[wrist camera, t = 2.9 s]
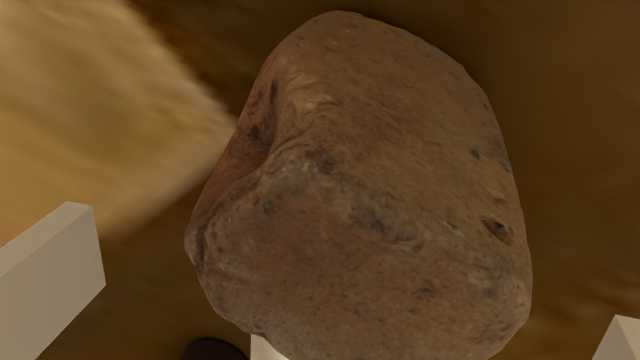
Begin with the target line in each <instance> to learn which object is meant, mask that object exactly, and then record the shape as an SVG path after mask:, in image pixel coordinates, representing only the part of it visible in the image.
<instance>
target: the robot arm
mask: <svg viewBox="0 0 640 360" xmlns="http://www.w3.org/2000/svg"><path fill="white" fill-rule="evenodd" d="M105 286H106V282H105V276H104V270H103V264H102V258H101V253H100V247H99V241H98V235H97V229H96V224H95V218H94V212H93V206H90V205H85V204H81V203H76V202H71V201H66V202H65V203H63V204H62V205H60V206H59V207H58V208H56V209H55V210H53V211H52V212H50V213H49V214H48V215H46V216H45V217H43V218H42V219H41V220H39V221H38V222H36V223H35V224H34V225H32V226H31V227H29V228H28V229H27V230H25V231H24V232H22V233H21V234H19V235H18V236H17V237H15V238H14V239H12V240H11V241H10V242H8V243H7V244H5V245H4V246H3V247H1V248H0V360H35V359H36V358H37V357H38V356H39V355H40V354H41V353H42V352H43V350H44V349H45V348H46V347H47V346H48V345H49V344H50V343H51V342H52V341H53V340H54V339H55V338H56V337H57V336H58V335H59V334H60V333H61V332H62V331H63V330H64V329H65V327H66V326H67V325H68V324H69V323H70V322H71V321H72V320H73V319H74V318H75V317H76V316H77V315H78V314H79V313H80V312H81V311H82V310H83V309H84V308H85V307H86V305H87V304H88V303H89V302H90V301H91V300H92V299H93V298H94V297H95V296H96V295H97V294H98V293H99V292H100V291H101V290H102V289H103V288H104V287H105ZM592 360H640V320H639V319H634V318H629V317H625V316H620V315H615V316H614V318H613V320H612V322H611V324H610V326H609V328H608V330H607V332H606V334H605V336H604V337H603V339H602V341H601V343H600V345H599V347H598V349H597V351H596V353H595V355H594V357H593V359H592Z"/></svg>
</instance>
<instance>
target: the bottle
mask: <svg viewBox="0 0 640 360" xmlns="http://www.w3.org/2000/svg"><path fill="white" fill-rule="evenodd" d="M180 360H246V359H245V358H244V357H243V356H242V354H241V353H240V352H239V351H237V350H236V349H235V348H233V347H232V346H230V345H228V344H226V343H224V342H221V341H216V340H199V341H196V342H193V343H192V344H191V345H190V346H188V347H187V348H186V349H185V351H184V353H183V355H182V356H181V358H180Z"/></svg>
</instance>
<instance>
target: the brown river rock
mask: <svg viewBox="0 0 640 360" xmlns="http://www.w3.org/2000/svg"><path fill="white" fill-rule="evenodd" d="M184 247H185V250H186V252H187V254H188V256H189V257H190V259H191V261H192V263H193V264H194V266H195V268H196V272H197V277H198V280H199V282H200V283H201V285H202V287H203V289H204V291H205V294H206V296H207V299H208V301H209V302H210V304H211V306H212V307H213V309H214V310H215V312H217V313H218V314H219V315H220V316H221V317H223V318H224V319H225V320H227V321H230V322H232V323H234V324H236V325H237V326H238V327H239V328H240V329H241V330H242V331H243V332H246V333H249V334H253V335H256V336H259V337H263V338H264V339H265V340H266V341H267V342H268V343H269V344H270V345H271V346H272V347H273V348H274V349H275V350H276V351H277V352H278V353H280V354H281V355H283V356H284V357H286V358H287V359H289V360H487V359H489V358H490V357H492V356H494V355H495V354H497V353H498V352H500V351H501V350H502V349H503V347H504V346H505V345H506V344H507V343H508V341H509V340H510V339H511V338H512V337H513V336H514V334H515V333H516V332H517V331H518V330H519V328H520V327H521V326H522V325H523V324H524V323H525V322H526V321H527V319H528V318H529V313H530V308H531V296H532V281H533V277H532V265H531V255H530V252H529V248H528V244H527V239H526V230H525V222H524V215H523V211H522V209H521V207H520V201H519V196H518V190H517V187H516V185H515V181H514V176H513V172H512V168H511V164H510V161H509V159H508V155H507V151H506V147H505V144H504V141H503V136H502V133H501V131H500V128H499V125H498V122H497V120H496V117H495V115H494V112H493V110H492V106H491V105H490V103H489V100H488V98H487V96H486V94H485V92H484V91H483V90H482V89H481V87H480V86H479V85H478V84H477V83H476V82H475V81H474V80H473V79H472V78H471V77H470V76H469V75H468V73H467V72H466V70H465V69H464V67H463V66H462V65H461V64H459V63H458V62H457V61H455V60H454V59H453V58H451V57H450V56H448V55H447V54H446V53H444V52H443V51H441V50H440V49H438V48H437V47H435V46H433V45H432V44H430V43H428V42H426V41H425V40H423V39H422V38H420V37H418V36H415V35H413V34H411V33H410V32H408V31H406V30H404V29H401V28H398V27H395V26H391V25H389V24H386V23H384V22H382V21H378V20H375V19H370V18H368V17H365V16H363V15H361V14H359V13H355V12H346V11H339V10H337V11H330V12H326V13H324V14H321V15H319V16H317V17H314V18H312V19H311V20H309V21H307V22H306V23H304V24H303V25H302V26H300V27H299V28H298V29H296V30H295V31H293V32H292V33H291V34H289V35H288V36H287V37H286V38H285V39H284V40H283V41H282V42H281V43H279V44H278V46H277V47H276V48H275V49H274V50H273V51H272V52H271V54H270V55H269V56H268V57H267V59H266V60H265V62H264V64H263V66H262V67H261V70H260V72H259V74H258V76H257V78H256V80H255V83H254V85H253V88H252V90H251V93H250V95H249V97H248V100H247V102H246V104H245V107H244V109H243V111H242V114H241V116H240V118H239V121H238V123H237V129H236V130H235V132H234V134H233V136H232V138H231V139H230V141H229V143H228V145H227V147H226V149H225V151H224V153H223V155H222V156H221V157H220V159H219V160H218V162H217V164H216V167H215V169H214V171H213V174H212V176H211V178H210V179H208V181H207V183H206V185H205V187H204V188H203V190H202V192H201V195H200V197H199V199H198V201H197V203H196V205H195V207H194V210H193V212H192V215H191V218H190V221H189V224H188V227H187V230H186V233H185V236H184Z"/></svg>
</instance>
